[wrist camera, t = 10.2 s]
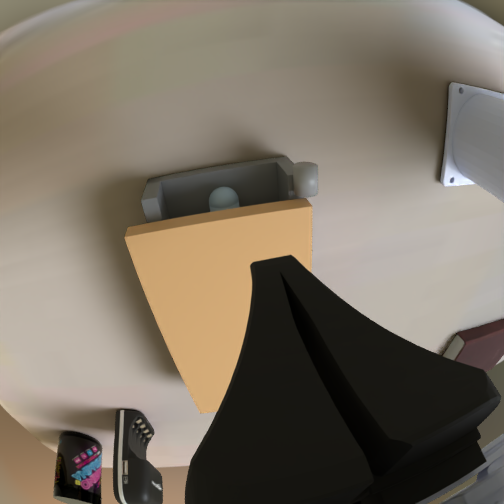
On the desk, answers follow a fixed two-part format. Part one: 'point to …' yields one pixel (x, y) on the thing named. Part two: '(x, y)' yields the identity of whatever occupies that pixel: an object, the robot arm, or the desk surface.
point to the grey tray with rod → (228, 187)
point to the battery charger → (134, 461)
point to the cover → (213, 282)
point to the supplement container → (78, 469)
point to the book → (478, 346)
